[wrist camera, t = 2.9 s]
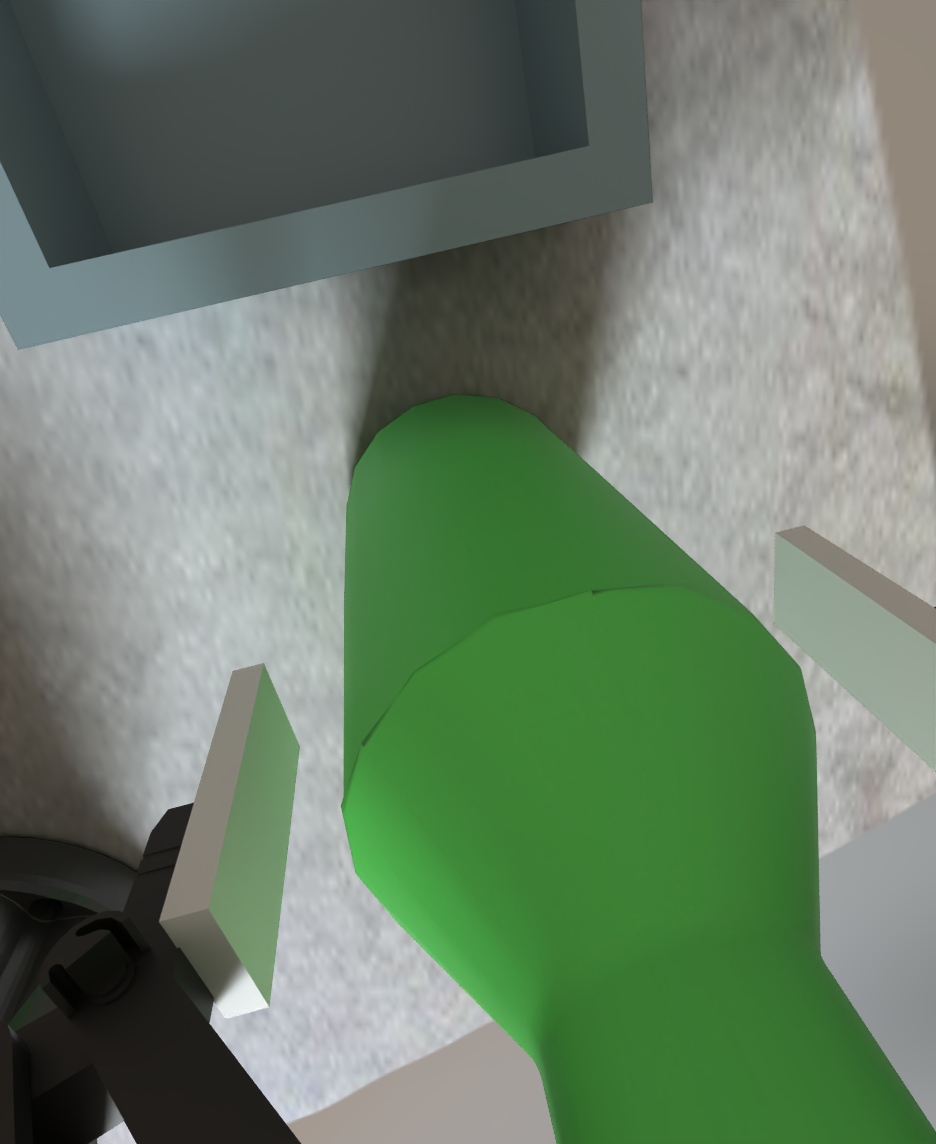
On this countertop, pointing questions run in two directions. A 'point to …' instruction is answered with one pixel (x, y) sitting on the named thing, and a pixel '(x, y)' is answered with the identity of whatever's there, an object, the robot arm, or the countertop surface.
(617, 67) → the bin
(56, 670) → the countertop surface
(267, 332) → the countertop surface
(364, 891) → the countertop surface
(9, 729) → the countertop surface
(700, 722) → the bottle
